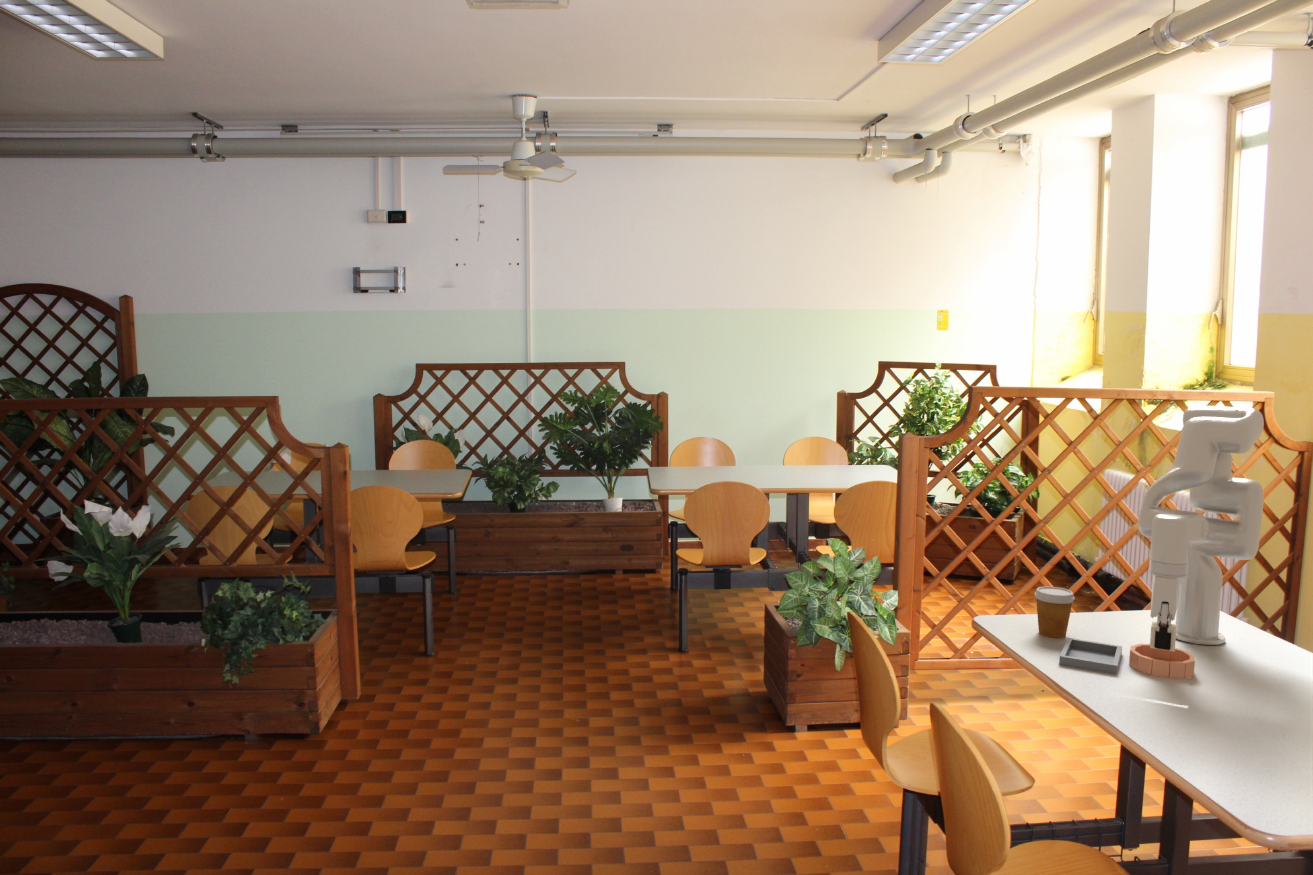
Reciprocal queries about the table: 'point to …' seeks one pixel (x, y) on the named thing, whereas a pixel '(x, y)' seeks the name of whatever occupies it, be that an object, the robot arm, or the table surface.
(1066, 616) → the disposable coffee cup
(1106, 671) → the parts tray
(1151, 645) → the cream beige cube
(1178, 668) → the bowl
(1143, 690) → the table surface
